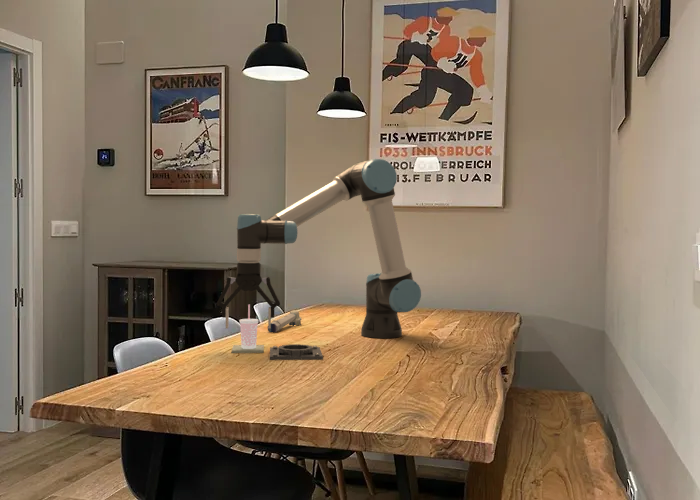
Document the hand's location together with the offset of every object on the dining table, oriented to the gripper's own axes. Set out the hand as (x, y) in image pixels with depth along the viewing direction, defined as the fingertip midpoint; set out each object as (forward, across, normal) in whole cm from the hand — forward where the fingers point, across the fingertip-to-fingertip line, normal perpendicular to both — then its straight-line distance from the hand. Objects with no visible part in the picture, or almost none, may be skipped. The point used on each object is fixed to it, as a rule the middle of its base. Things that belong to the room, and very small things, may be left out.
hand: (248, 327), depth 224 cm
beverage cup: (+7, 0, 0) cm, 7 cm away
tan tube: (+8, -13, -48) cm, 50 cm away
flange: (+7, -15, +9) cm, 19 cm away
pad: (+7, 0, 0) cm, 7 cm away
